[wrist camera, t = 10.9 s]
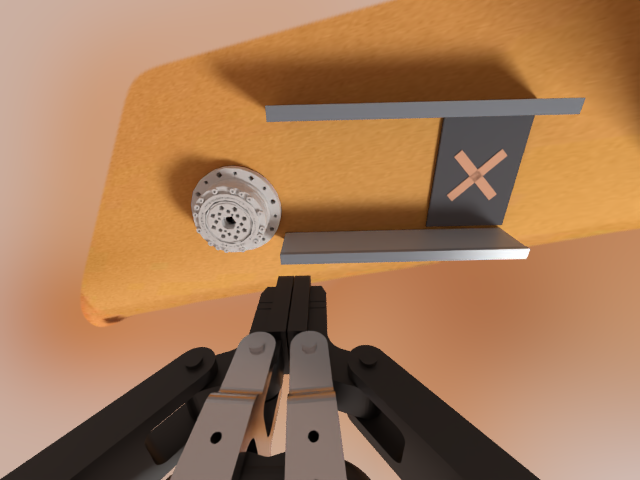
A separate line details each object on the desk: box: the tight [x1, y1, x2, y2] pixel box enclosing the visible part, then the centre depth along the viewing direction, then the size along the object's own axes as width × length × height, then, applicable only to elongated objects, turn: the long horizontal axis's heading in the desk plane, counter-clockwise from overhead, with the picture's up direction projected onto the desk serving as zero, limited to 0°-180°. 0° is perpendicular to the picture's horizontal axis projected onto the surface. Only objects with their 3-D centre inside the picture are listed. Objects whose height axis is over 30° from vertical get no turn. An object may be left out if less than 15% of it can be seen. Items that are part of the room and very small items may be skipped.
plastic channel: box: [265, 98, 585, 265], centre depth 29 cm, size 26×15×6 cm, turn 91°
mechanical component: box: [191, 166, 281, 253], centre depth 31 cm, size 10×4×10 cm
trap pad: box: [426, 115, 535, 227], centre depth 31 cm, size 9×12×1 cm
